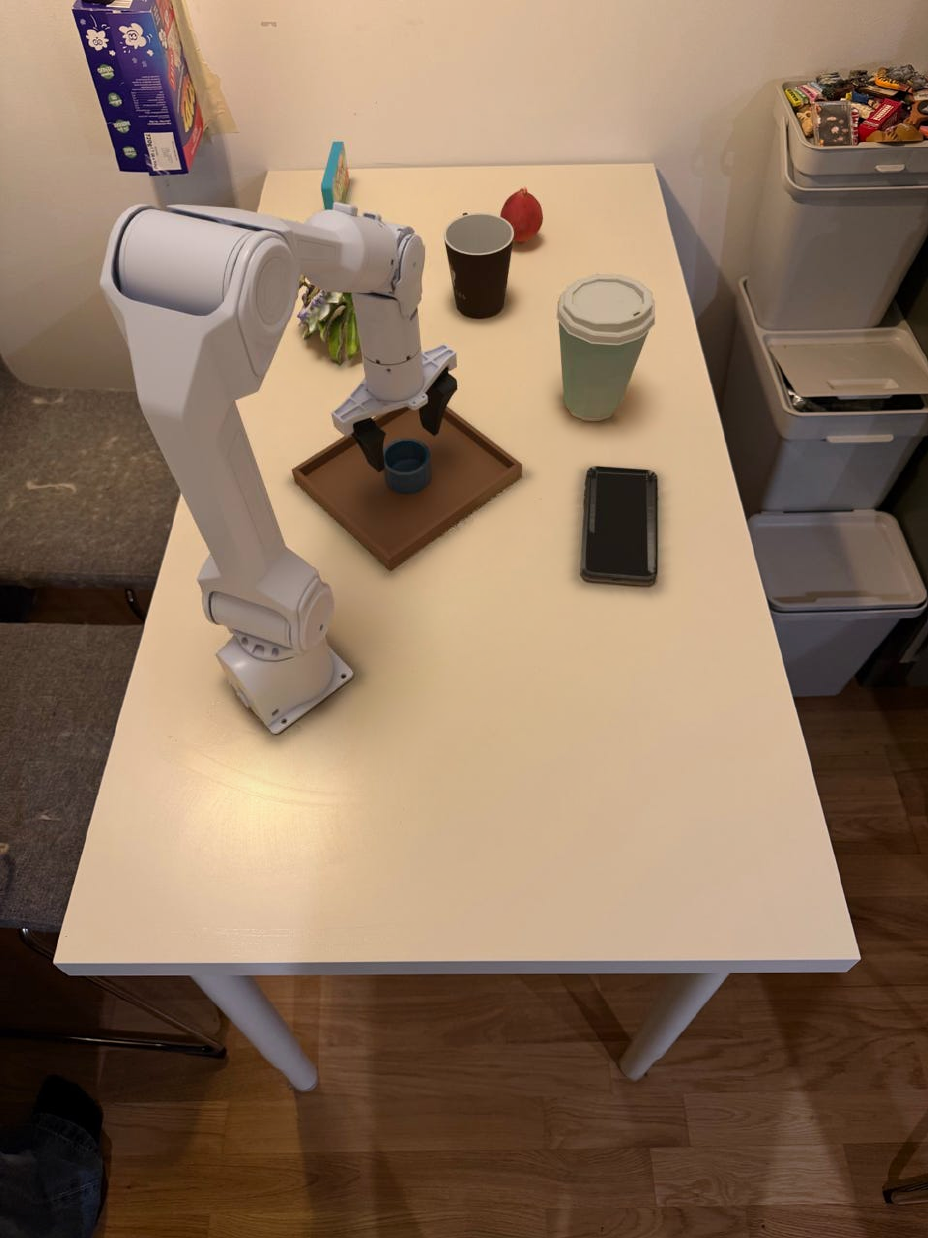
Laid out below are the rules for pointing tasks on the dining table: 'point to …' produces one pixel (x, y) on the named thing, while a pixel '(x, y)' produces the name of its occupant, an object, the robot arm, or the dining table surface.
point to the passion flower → (319, 314)
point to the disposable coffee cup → (601, 341)
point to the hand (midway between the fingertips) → (403, 447)
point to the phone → (620, 526)
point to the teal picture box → (335, 177)
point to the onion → (523, 215)
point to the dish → (407, 466)
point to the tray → (407, 521)
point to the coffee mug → (479, 262)
